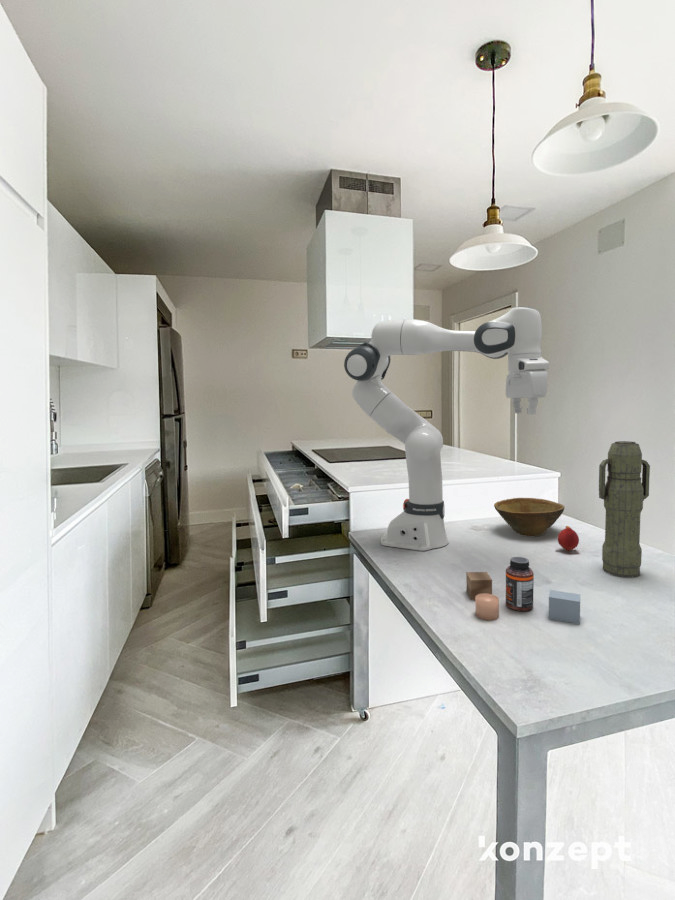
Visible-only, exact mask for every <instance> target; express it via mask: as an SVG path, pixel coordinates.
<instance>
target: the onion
mask: <svg viewBox="0 0 675 900" xmlns="http://www.w3.org/2000/svg"><path fill="white" fill-rule="evenodd" d="M557 543H558V544H559V546H560V547H561V548H563V550H565V551H566V552H571V551H572V550H574V549H576V548H577V547H578V545H579V544H580V538H579V535H578V534H577V532H576V531H575V530H573V529H572V528H571V527H570V526H569V525H566V526H565V528H563V529H562V530H561V531H560V532H559V533H558V534H557Z"/></svg>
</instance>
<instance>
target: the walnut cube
mask: <svg viewBox="0 0 675 900" xmlns="http://www.w3.org/2000/svg"><path fill="white" fill-rule="evenodd" d="M465 573H466V575H465V576H466V593H467V595H468V597H469V598H470V600H471V601H472V600H473V601H475V596H476V595H478V594H482V593H488V594H493V578H491V576H490V574H489V573H488V572H487V571H471V572H470V571H469V572H467V571H466V572H465Z"/></svg>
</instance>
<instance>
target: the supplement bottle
mask: <svg viewBox="0 0 675 900" xmlns="http://www.w3.org/2000/svg"><path fill="white" fill-rule="evenodd" d="M509 560H510V561H509V564H510V565H509V566H507V567H506V569H505V604H506V606H507V607H508V608H509V609H511V610H514V611H518V612H528V611H531V610H532V609H533V608H534V585H535V584H534V583H535V582H534V574H535V573H534V570H533V569H532V568H531V567H530V559H528V558H527V557H524V556H513V557H511V558H510V559H509Z"/></svg>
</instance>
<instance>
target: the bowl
mask: <svg viewBox="0 0 675 900" xmlns="http://www.w3.org/2000/svg"><path fill="white" fill-rule="evenodd" d="M493 507H494V509H495V510H496V512H497V513H498V515H500V517H501V518H502V519H503V521H505V523H507V525H508V526H510V529H512V530H513V532H515V534H517V535H520V536H523V537H540V536H543V535H544V534H545V533H546V532H547V531H548V530H550V528H551V527H552V526H553V525H554V524H555V523H556V522H557V520H558V519H559V518H560V517H561V516H562V515H563V513H564V511H565V505H563V504H561V503H558V502H555V501H553V500H549V499H544V498H535V497H513V498H507V499H503V500H499V501H496V502H495V503H494V505H493Z"/></svg>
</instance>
